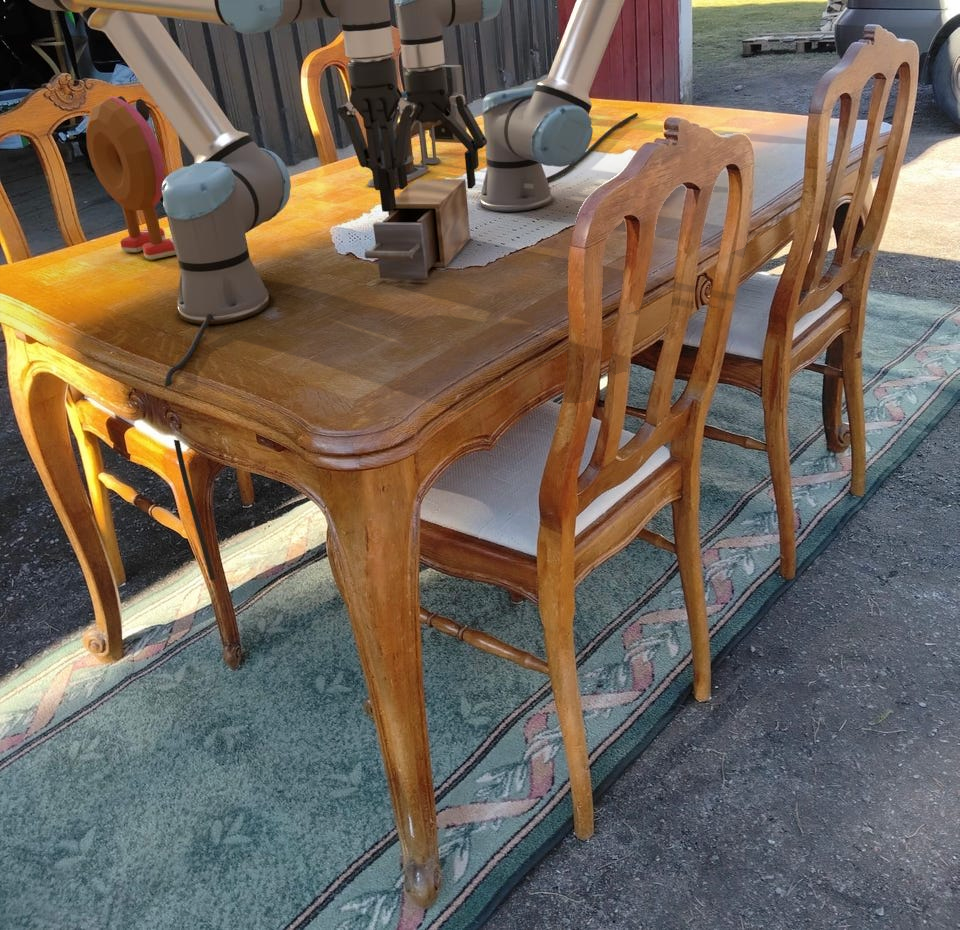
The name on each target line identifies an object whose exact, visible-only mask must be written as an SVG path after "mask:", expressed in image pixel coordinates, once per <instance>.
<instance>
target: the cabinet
mask: <svg viewBox="0 0 960 930" xmlns="http://www.w3.org/2000/svg"><path fill="white" fill-rule="evenodd" d="M467 194H468V193H467V179H466V178H423V179H422V178H416V180H414V181H413V182H412V183H411V184H409V185H408V186H406V187H405V188H404V189H402V191H401V192H400V193H398V194H397V195H395V201H396V208H394V209H393V210H392V211H391V212H387V213H388V216H389V215H390V214H392V213H393V212H394V211H395V210H396V209H397V208H408V209H435V212H436V222H437V232H438V242H439V252H440V258H439V259H438V260H437V261H436V262H435V264H434V265H433V266H432V267H431V268H446V267H447V266H448V265H449V263H451V261H452V260H453V259H454V258H455V257H456V256H457V255H458V253H460V251H461V250H462V249H463V248H464V246H465V245H466V244H468V242H469V241H470V240H471V230H470V219H469V205H468V195H467Z"/></svg>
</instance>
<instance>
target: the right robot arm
mask: <svg viewBox="0 0 960 930" xmlns="http://www.w3.org/2000/svg"><path fill="white" fill-rule="evenodd" d="M502 1H503V0H394V5H395V10H396V18H397V25H398V32H399V33H398V34H399V41H400V52H401V59H402V60H401V61H402V67H403V68H404V69H405V70H404V72H403V78H404V86H405V91H406V93H407V97H406V98H403V99H405V100H407V101H408V102H410V103H412V102H414V103H415V104H416V105H417V109H416V111H415V113H414V115H413V117H412V122H411V130H412V128H413V127H414V125H415V124H416V122H417V121H419V122H421V123H426V122H432V123H437V122H438V121H441V122H442V123H443V124H444V125H446V126H447V127H448V128H449V129H450V131H451V132H452V133H453V134H454V135H455V136H456V137H457V138H458V139H459V141H460V142H461V143H460V144H462V145H463V146H464V148H466V149H467V150H466V151H465V152H464V161H465V162H464V163H465V173H466V186H467V189H471V190H472V189H473V188H474V187H475V186H476V174H475V170H477V169H478V167H479V165H480V163H479V150H480V149H483V148H484V147H485V158H486V159H485V160H486V171H485V175H484V178H483V183H482V187H481V192H480V206H481V207H483V208H484V209H486V210H488V211H493V212H502V213H503V212H504V213H505V212H507V213H511V212H512V213H513V212H524V211H530V210H536V209H539V208H543V207H545V206H546V205H548V204H550V203H551V201H552V190H551V187H550V183H549V182H551V181H553V180H556V179H557V178H559V177H560V176H564V174H566V173H567V172H568V171H570V170H571V169H573V168H575V167H576V166H577V165H579V164H580V163H581V162H582V161H583V160H585V159H586V158H587V157H588V156H589V155H590V154H591V153H592V152H594V150H595V149H596V148H597V147H598V146H599V145H600V144H601V143H602V142H603V141H604V140H605V139H607V137H608V136H610V135H611V134H612V133H613V132H614V131H616V130H617V129H619V128H621V126H623V125H624V124H626V123H628V122H630V121H632V120H633V119H635V118H637V117H638V116H639V113H637V112H635V113H633V114H631V115H630V116H628V117H626V118H624V119H623V120H621V121H619V122H617V123H616V124H615V125H614V126H612V127H611V128H609V129H608V130H607V131H606V132H604V133H603V134H602V136H600V137H599V138H598V139H597V140H596V142H594V143H593V144H592V145H591V141H592V138H593V131H594V129H593V127H592V124H593V121H592V118H591V117H590V113H591V110H592V107H593V104H592V101H591V99H590V95H589V94H590V91H591V88H592V86H593V83H594V80H595V79H596V75H597V74H598V73H597V72H598V70H599V67H600V65H601V62H602V60H603V58H604V54H605V52H606V49H607V47H608V44H609V43H610V39H611V37H612V34H613V32H614V29H615V26H616V23H617V21H618V19H619V15H620V13H621V11H622V9H623V6H624V3H625V0H576V1H575V4H574V6H573V8H572V12H571V14H570V17H569V19H568V23H567V25H566V28H565V30H564V33H563V35H562V38H561V41H560V44H559V46H558V49H557V52H556V54H555V56H554V60H553V62H552V64H551V67H550V70H549V72H548V76H547V77H546V78H545V79H543V80H541V81H539V82H537V83H536V86H535V87H534V86H530V87H520V88H513V89H505V90H500V91H495V92H491V93H488V94H486V95H485V96H484V98H483V99H482V113H481V115H482V117H483V118H482V119H483V121H482V122H483V131H482V129H481V128H480V125H479V124H478V122H477V121H476V118H475V117H474V114H473V113H472V111H471V109H470V108H469V106H468V101H467V96H466V94H465V93H464V94H463V93H461V94H460V95H458V96H452V97H450V96H449V94H448V87H447V77H446V69H445V68H444V67H443V66H442V65H445V62H446V60H445V59H446V58H445V47H444V37H443V28H449V27H452V26H453V27H454V26H460V25H467V24H472V23H483V22H485V21H489V20H493V19H495V18H496V17H497V16H498V15H499V13H500V11H501V9H502V3H503V2H502ZM450 104H453V105H454V107H455V108H456V109H458V112H459V114H460V116H461V118H462V119H463V121H464V123H465V125H466V129H467V130H468V131H467V132H466V131H465V129H464V128H463V127H462V126H461V125H460V124H459V123H458V122H457V120H456V119H455V118H454V116H453V114H452V113H451V112H450V111H449V110H448V108H449V106H450ZM399 109H400V107H399V106H398V107H397V109H396V111H395V113H394V115H393V131H395V128H396V126H397V124H398V123H399V120H400V117H401V115H400V112H399ZM397 141H398V136H397V137H396V139H395V148H396V151H397ZM590 145H591V146H590ZM589 146H590V147H589ZM380 147H381V150H382V151H383V144H382V140H381V143H380ZM543 166H547V167H559V168H562V167H564V168H562V169H561V170H560V171H558V172H556V173H553V174H552V175H550V176H548V177H547V175H546V172H545V170H544V167H543ZM397 174H398V182H399V187H398V188H399V190H405V189H406V188H407V187H408V186H409V182H407V174H406V166H405V164H404V165H402V166H401V167H398V168H397Z"/></svg>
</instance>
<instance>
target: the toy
mask: <svg viewBox="0 0 960 930" xmlns="http://www.w3.org/2000/svg"><path fill="white" fill-rule="evenodd" d="M149 120H150V110H149V107H148V106H147V103H146V101H144V100H143V99H142V98H138V99H136V102H135V107H134V106H133V105H132V104H130V103H128V101H127V99H126V98H125V97H124V96H122V95H120V96H117V97H116V96H110V97H108V98H106V99H104V100H102V101H100V102H99V103H96V104H95V105H93V106H92V107H91V109H90V111H89V114H88V117H87V121H86V127H85V128H86V130H85V135H86V136H85V137H86V138H85V139H86V149H87V153H88V156H89V160H90V163H91V167H92V169H93V170H94V173H95V175H96V177H97V179H98V181H99V183H100V184H101V185H102V187H103V188H104V189H105V191H106V192H107V193H108V195H109V196H110V197H111V198H112V199H113V200H114V201H115V202H116V203H117V204H119V205H120V206H121V209H122V213H123V216H124V220H125V224H126V229H127V233H128V236H126V237H123V238H121V240H120V248H121V250H122V251H123V252H125V253H140V252H142V251H143V255H144V257H145V259H147V260H149V261H152V260H157V259H162V258H163V259H164V258H167V257H171V256H177V255H176V251H175V247H174V243H173V239H172V237H169V238H166V234H165V233H166V232H165V230H164V229H163V228H161V227H160V222H159V217H158V214H157V209H156V206H157V205H159V202H160V200H161V199H162V198H163V195H162V184H163V181H164V180H165V178H166V177H165V162H164V158H163V153H162V150H161V146H160V144H159V142H158V139H157V136H156V135H155V132H154V131H153V129H152V127H151V126H150V124H149V123H148V122H149ZM137 211H142V212H143V216H144V222H145V224H146V228H144V229H140V224H139V220H138V214H137Z"/></svg>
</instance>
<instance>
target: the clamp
mask: <svg viewBox="0 0 960 930" xmlns="http://www.w3.org/2000/svg"><path fill="white" fill-rule="evenodd" d="M442 66H443V67H444V68H445V69H446V77H447V87H448V94H449V96H450V97H452V96H458V95H460V94H461V93H463V94H465V91H464V81H463V80H464V79H463V70H462V69H463V67H462V65H461V64H443V65H442ZM400 92H401V94H402V98H406V97H407V93H406V90H404V91H400ZM448 110H449V111H450V112H451V113H452V114H453V116H454V118H455V119H456V120H457V122H458V123H459V124H460V125H461V126H462V127H463V128H464V129H465V131H466V132H467V133H468V131H467V130H468V129H467V127H466V125H465V123H464V121H463V119H462V118H461V116H460V114H459V112H458V109H456V108H455V107H454V105H453V104H450V106H449V108H448ZM400 116H401V114H400ZM399 123H400V121H398V122H397V125H396V128H395V131H394V139H396V137H397V136H398V132H399ZM378 130H379V138H380V143H381V140H382V136H381V129H380V127H379V123H378ZM426 131H428V135H429V138H430V139H431V149H432V151H431V152H432V157H430V156H428V146H427V138H426ZM417 135H418V137H419V146H420V157H421V160H420V164H416V163H414V160H415V157H414V153H413V143H412V137H414V136H417ZM436 143H453V144H462V143H461V142H460V141H459V139H458V138H457V137H456V136H455V135H454V134H453V133H452V132H451V131H450V129H449V128H448V127H447V126H446V125H444V124H443V123H442V122H441V121H438V122H437V123H432V122H426V123H421V122H419V121H417V122H416V124H415V125H414V127H413V128H412V130H411V131H410V140H409V149H408V158H407V162H406V163H405V166H406V174H407V182H408V183H409V182H411V181H413V180H415V179H418V178H419V177H421V176H422V175H423V176H424V175H426V174H427V173H429V172H430V171H429V168H430V167H429V166H428V165H437V164H439V163H441V159H440V158H439V157H437V147H436ZM381 155H382V163H384V165H383V166H382V168H385V160H384V152H383V151H382V150H381ZM398 183H399V182H398ZM367 186H369V187H374V182H373V178H371V179H369V180H368V182H367ZM398 188H399V186H398Z"/></svg>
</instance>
